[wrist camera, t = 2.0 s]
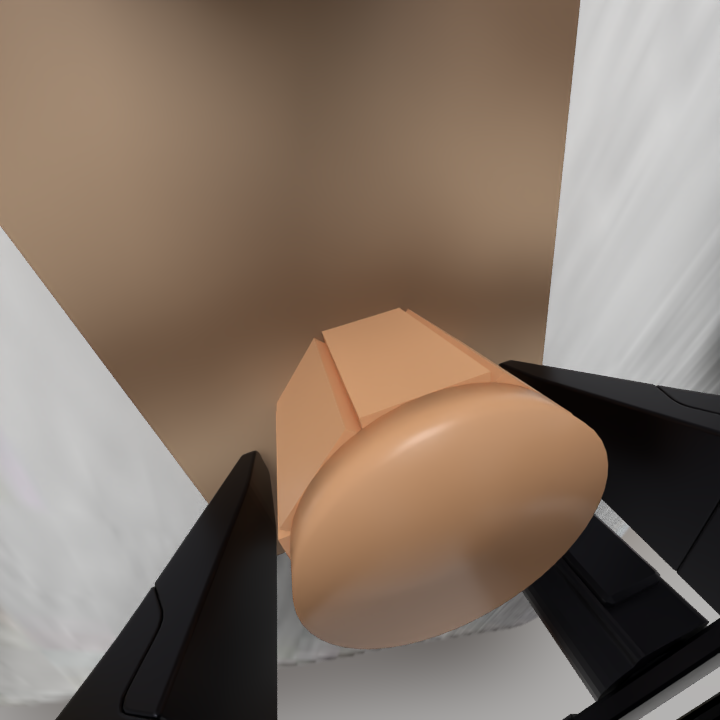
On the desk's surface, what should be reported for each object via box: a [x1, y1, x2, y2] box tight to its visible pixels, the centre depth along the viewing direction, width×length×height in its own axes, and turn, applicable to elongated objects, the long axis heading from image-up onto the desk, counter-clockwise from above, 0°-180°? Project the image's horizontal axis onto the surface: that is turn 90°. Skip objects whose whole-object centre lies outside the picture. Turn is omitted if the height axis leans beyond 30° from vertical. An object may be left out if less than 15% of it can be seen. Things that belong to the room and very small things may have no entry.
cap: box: [276, 308, 608, 649], centre depth 7 cm, size 6×6×5 cm
